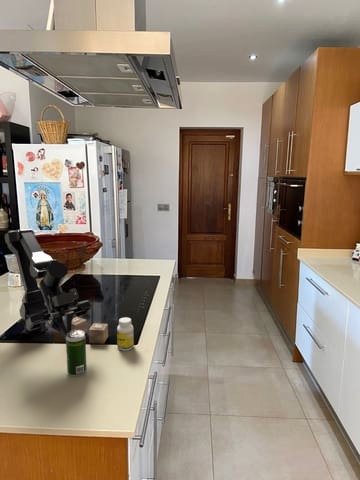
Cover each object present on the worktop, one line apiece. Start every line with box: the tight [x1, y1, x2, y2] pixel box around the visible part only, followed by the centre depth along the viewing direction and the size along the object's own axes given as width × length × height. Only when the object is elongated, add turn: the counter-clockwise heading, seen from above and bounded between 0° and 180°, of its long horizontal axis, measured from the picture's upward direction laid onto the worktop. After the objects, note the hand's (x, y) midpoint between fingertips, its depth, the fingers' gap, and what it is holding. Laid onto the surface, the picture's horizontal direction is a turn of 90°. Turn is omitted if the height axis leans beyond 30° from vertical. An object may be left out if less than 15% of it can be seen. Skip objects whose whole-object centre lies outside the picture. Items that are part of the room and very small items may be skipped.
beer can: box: [65, 330, 88, 378], centre depth 98 cm, size 5×5×12 cm
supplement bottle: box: [116, 316, 135, 351], centre depth 112 cm, size 5×5×10 cm
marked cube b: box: [71, 316, 88, 334], centre depth 122 cm, size 5×5×5 cm
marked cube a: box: [88, 322, 109, 345], centre depth 117 cm, size 5×5×5 cm
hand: (69, 340), depth 100 cm, fingers closed
